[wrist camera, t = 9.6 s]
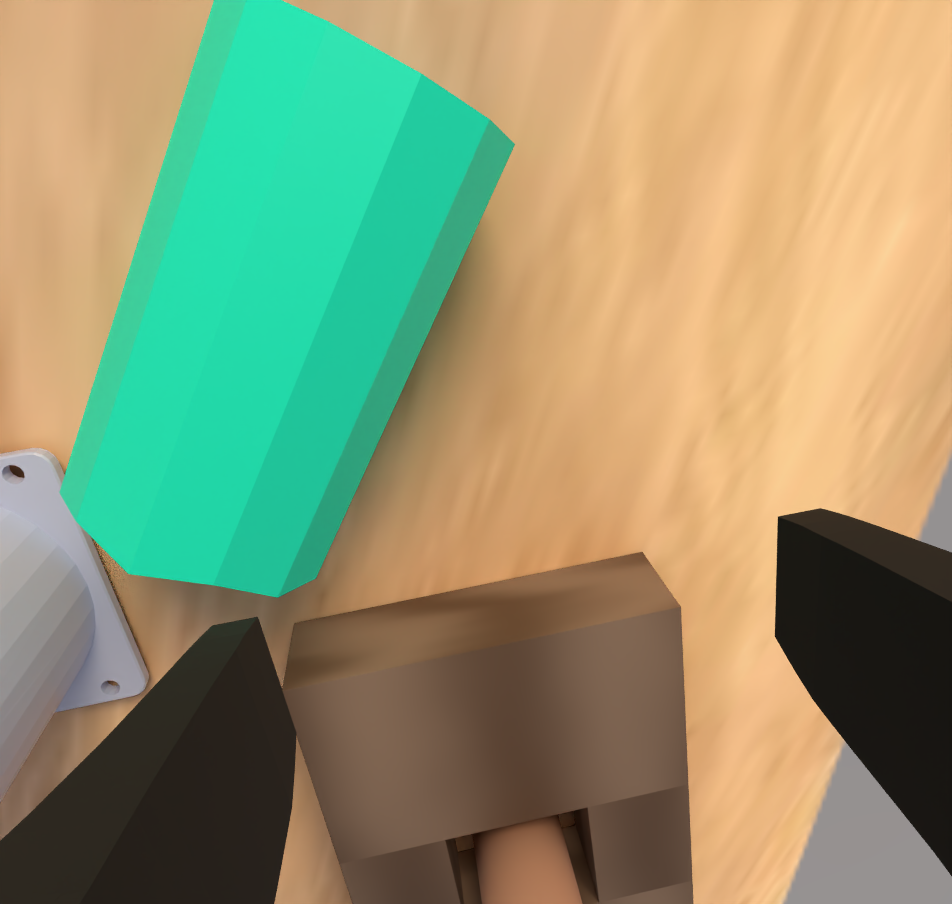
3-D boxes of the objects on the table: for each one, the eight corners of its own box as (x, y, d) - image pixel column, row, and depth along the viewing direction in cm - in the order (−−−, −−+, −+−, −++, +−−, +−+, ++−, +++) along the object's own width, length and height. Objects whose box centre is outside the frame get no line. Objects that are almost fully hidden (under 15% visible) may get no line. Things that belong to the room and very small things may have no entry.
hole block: (406, 984, 28) (409, 1073, 25) (294, 623, 21) (282, 691, 18) (666, 921, 29) (697, 1000, 26) (642, 552, 22) (680, 607, 19)
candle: (564, 176, 15) (346, 624, 18) (377, 96, 17) (219, 497, 21) (376, 31, 9) (122, 693, 13) (153, -49, 12) (-7, 513, 16)
